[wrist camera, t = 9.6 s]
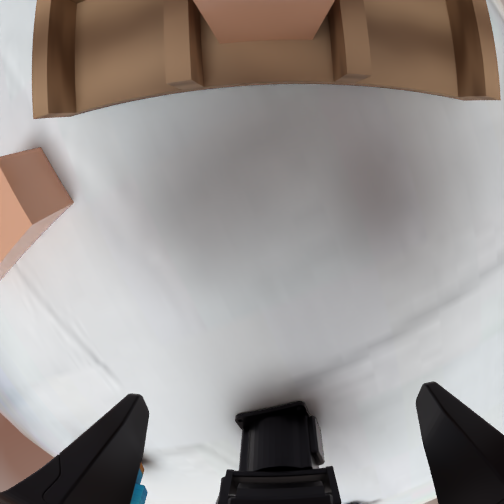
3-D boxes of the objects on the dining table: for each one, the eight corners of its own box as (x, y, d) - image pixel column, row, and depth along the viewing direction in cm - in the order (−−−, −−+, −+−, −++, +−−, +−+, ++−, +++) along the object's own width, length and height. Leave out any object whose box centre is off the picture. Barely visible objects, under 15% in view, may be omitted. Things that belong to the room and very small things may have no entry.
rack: (463, 100, 15) (500, 100, 11) (70, 116, 17) (33, 118, 13) (446, -15, 12) (476, -33, 8) (71, 2, 13) (38, -13, 10)
